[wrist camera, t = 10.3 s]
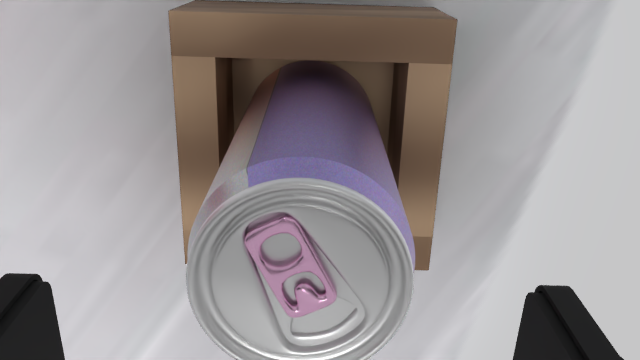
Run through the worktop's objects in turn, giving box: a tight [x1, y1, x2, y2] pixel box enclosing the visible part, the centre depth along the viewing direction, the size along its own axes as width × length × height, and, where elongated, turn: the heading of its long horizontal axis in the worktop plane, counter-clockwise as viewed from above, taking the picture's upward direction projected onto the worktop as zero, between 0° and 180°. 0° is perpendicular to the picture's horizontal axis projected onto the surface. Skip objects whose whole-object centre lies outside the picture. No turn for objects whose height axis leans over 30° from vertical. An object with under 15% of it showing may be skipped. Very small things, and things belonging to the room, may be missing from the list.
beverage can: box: [186, 61, 415, 360], centre depth 21 cm, size 6×6×15 cm
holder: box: [168, 0, 457, 270], centre depth 26 cm, size 11×11×5 cm
